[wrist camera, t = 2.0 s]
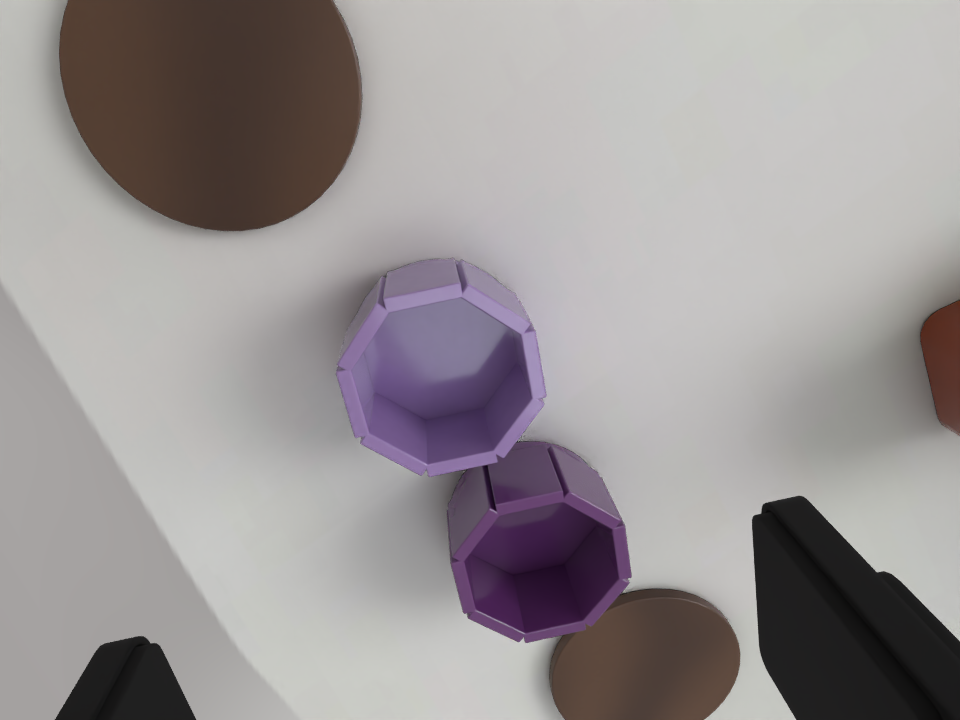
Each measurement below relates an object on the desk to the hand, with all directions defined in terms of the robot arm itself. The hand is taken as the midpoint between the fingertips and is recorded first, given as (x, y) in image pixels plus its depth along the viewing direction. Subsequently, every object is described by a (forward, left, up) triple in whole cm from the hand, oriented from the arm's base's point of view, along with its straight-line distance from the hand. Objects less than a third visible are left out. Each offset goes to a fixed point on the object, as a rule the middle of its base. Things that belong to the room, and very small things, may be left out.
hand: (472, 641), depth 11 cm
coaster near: (-5, +9, -16) cm, 19 cm away
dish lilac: (0, -1, -16) cm, 16 cm away
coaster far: (+6, -19, -16) cm, 25 cm away
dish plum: (+2, -9, -16) cm, 18 cm away
